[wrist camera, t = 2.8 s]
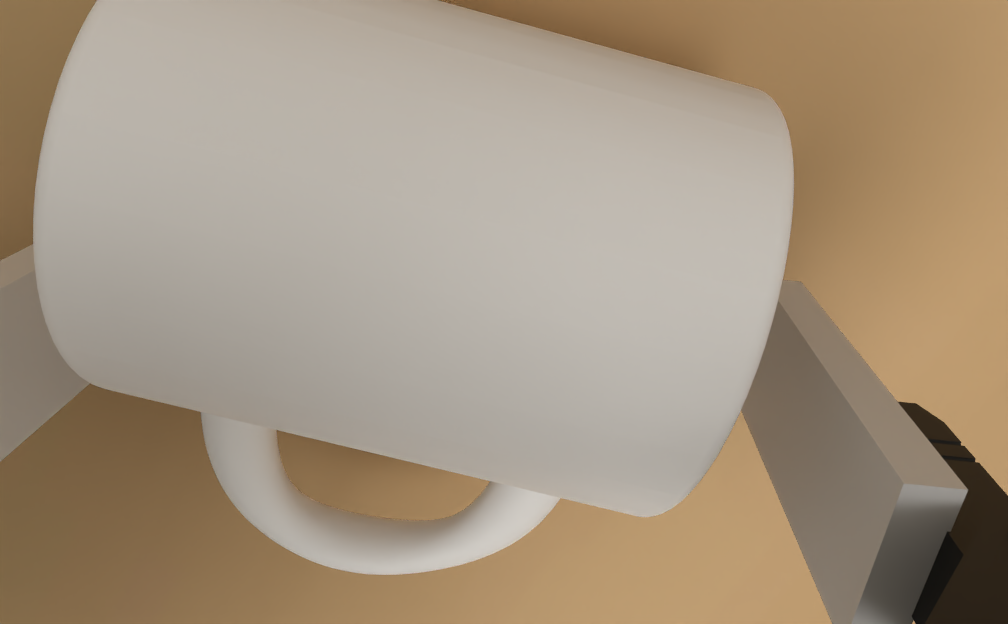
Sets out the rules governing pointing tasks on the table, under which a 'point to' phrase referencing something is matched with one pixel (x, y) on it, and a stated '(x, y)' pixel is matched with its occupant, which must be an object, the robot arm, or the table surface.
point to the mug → (412, 255)
